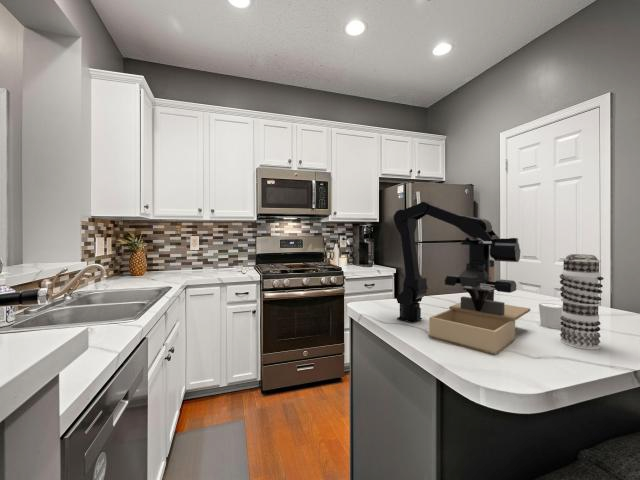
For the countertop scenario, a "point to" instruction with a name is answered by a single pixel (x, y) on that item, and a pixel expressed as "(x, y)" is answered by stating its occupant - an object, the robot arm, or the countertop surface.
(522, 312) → the carton lid
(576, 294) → the decorative candle
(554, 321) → the shot glass
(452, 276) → the robot arm
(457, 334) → the carton
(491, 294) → the travel mug
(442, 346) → the countertop surface
